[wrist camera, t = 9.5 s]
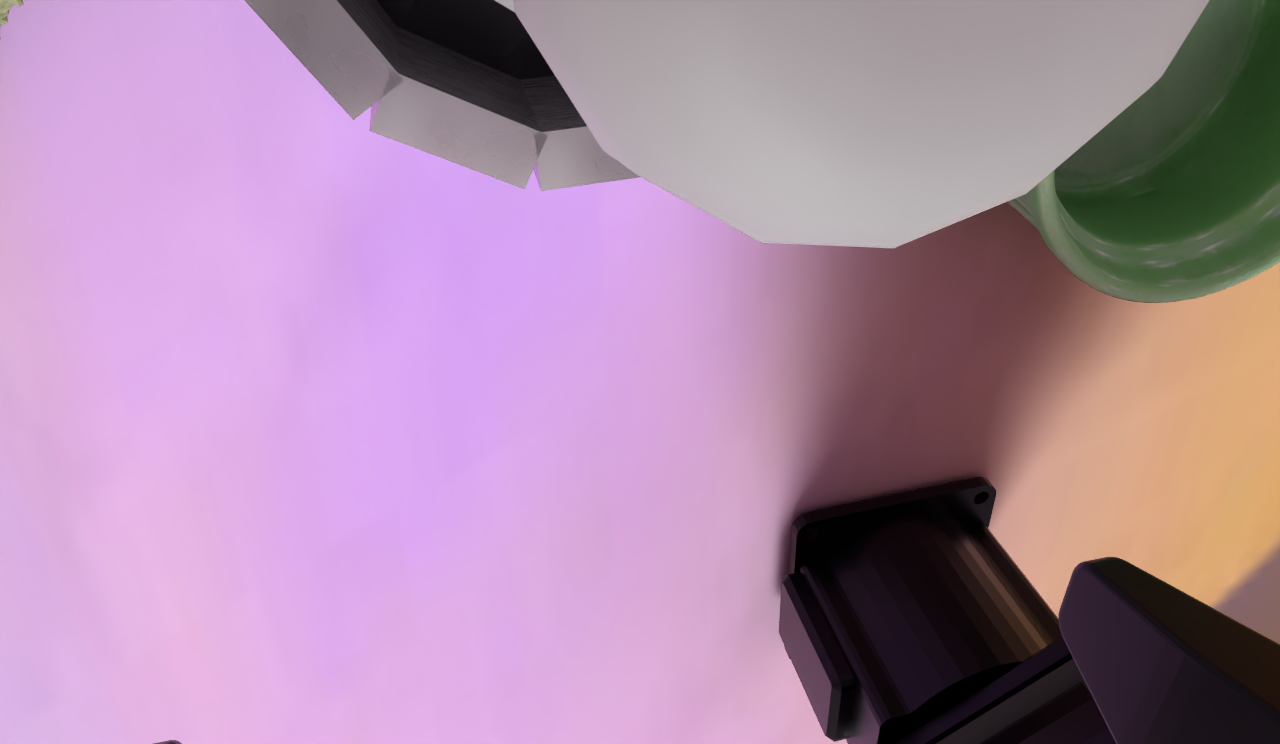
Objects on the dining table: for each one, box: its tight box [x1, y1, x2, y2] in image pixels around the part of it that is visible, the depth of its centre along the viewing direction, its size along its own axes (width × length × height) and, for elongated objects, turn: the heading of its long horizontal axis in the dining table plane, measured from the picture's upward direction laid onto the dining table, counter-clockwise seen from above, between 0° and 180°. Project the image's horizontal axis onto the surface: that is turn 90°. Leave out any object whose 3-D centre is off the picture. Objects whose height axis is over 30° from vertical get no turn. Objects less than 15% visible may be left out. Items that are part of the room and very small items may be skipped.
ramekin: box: [1007, 0, 1280, 303], centre depth 19 cm, size 9×9×4 cm
